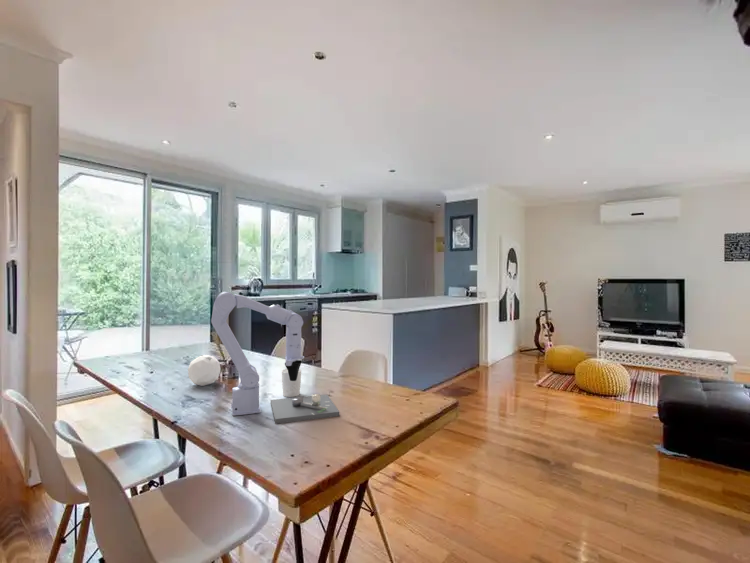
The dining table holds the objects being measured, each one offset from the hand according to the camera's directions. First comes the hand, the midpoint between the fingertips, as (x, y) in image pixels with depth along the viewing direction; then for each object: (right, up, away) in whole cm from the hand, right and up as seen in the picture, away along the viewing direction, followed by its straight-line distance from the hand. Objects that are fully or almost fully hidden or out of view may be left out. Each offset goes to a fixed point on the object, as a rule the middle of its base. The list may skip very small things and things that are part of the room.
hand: (293, 380), depth 142 cm
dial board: (+5, -10, -5) cm, 12 cm away
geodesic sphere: (-45, -9, +25) cm, 53 cm away
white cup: (-4, -9, +13) cm, 16 cm away
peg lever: (+7, -8, -6) cm, 12 cm away
